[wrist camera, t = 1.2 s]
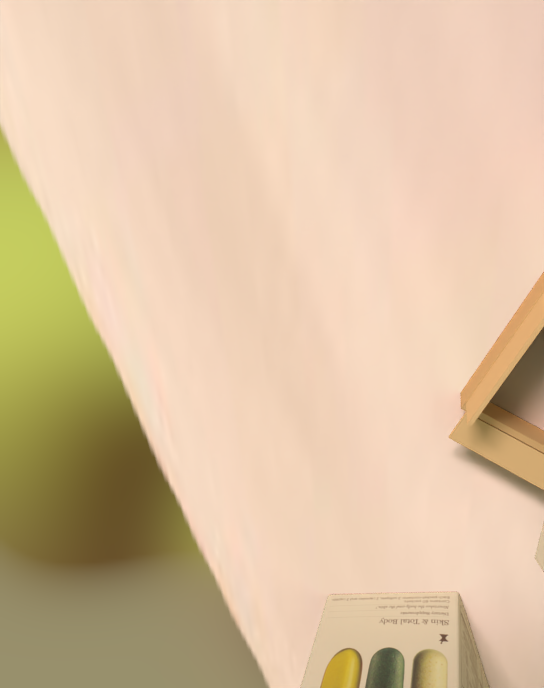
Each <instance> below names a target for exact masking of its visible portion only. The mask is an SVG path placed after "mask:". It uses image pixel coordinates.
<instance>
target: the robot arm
mask: <svg viewBox="0 0 544 688" xmlns="http://www.w3.org/2000/svg"><path fill="white" fill-rule="evenodd" d="M535 559H536V561H537V563H538V564H539V566H540V567H541V569H542V570H543V572H544V523H543V527H542V531H541V535H540V539H539V543H538V547H537V551H536V555H535Z"/></svg>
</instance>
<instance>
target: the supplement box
mask: <svg viewBox="0 0 544 688" xmlns="http://www.w3.org/2000/svg"><path fill="white" fill-rule="evenodd" d="M300 688H489V686H488V683H487V679H486V676H485V673H484V670H483V667H482V664H481V660H480V657H479V654H478V651H477V648H476V644H475V641H474V638H473V635H472V632H471V628H470V625H469V622H468V619H467V616H466V613H465V610H464V607H463V604H462V600H461V598H460V595H459V593H458V592H419V593H373V594H335V595H329V596H328V598H327V601H326V604H325V608H324V611H323V614H322V618H321V621H320V624H319V628H318V631H317V634H316V637H315V641H314V644H313V647H312V651H311V654H310V657H309V661H308V664H307V667H306V671H305V674H304V677H303V681H302V684H301V687H300Z"/></svg>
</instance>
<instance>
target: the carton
mask: <svg viewBox="0 0 544 688" xmlns="http://www.w3.org/2000/svg"><path fill="white" fill-rule="evenodd" d="M543 327H544V272H543V274H542V275H541V277H540V278H539V280H538V281H537V282H536V284H535V285H534V287H533V288H532V290H531V291H530V293H529V294H528V296H527V297H526V298H525V300H524V301H523V303H522V304H521V306H520V307H519V309H518V310H517V312H516V313H515V315H514V316H513V317H512V319H511V320H510V322H509V323H508V325H507V326H506V328H505V329H504V331H503V332H502V333H501V335H500V336H499V338H498V339H497V341H496V342H495V344H494V345H493V347H492V348H491V350H490V351H489V352H488V354H487V355H486V357H485V358H484V360H483V361H482V363H481V364H480V366H479V367H478V368H477V370H476V371H475V373H474V374H473V376H472V377H471V379H470V380H469V382H468V383H467V385H466V386H465V387H464V389H463V390H462V392H461V409H463V410H465V411H466V412H465V414H464V415H463V417H462V418H461V420H460V421H459V422H458V424H457V425H456V427H455V428H454V429H453V431H452V432H451V434H450V435H449V438H450V439H452V440H454V441H456V442H457V443H459V444H461V445H463V446H465V447H467V448H468V449H470V450H472V451H474V452H476V453H477V454H479V455H481V456H483V457H485V458H486V459H488V460H490V461H492V462H494V463H495V464H497V465H499V466H501V467H503V468H505V469H506V470H508V471H510V472H512V473H514V474H515V475H517V476H519V477H521V478H523V479H524V480H526V481H528V482H530V483H532V484H533V485H535V486H537V487H539V488H541V489H543V490H544V431H543V430H541V429H540V428H538V427H536V426H534V425H532V424H530V423H528V422H526V421H525V420H523V419H521V418H519V417H517V416H515V415H513V414H511V413H509V412H508V411H506V410H504V409H502V408H500V407H498V406H496V405H494V404H493V403H491V402H489V401H490V400H491V399H492V397H493V396H494V395H495V393H496V392H497V390H498V389H499V388H500V386H501V385H502V383H503V382H504V381H505V379H506V378H507V377H508V375H509V374H510V372H511V371H512V370H513V368H514V367H515V365H516V364H517V363H518V361H519V360H520V359H521V357H522V356H523V354H524V353H525V352H526V350H527V349H528V348H529V346H530V345H531V343H532V342H533V341H534V339H535V338H536V336H537V335H538V334H539V332H540V331H541V330H542V328H543Z"/></svg>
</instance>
